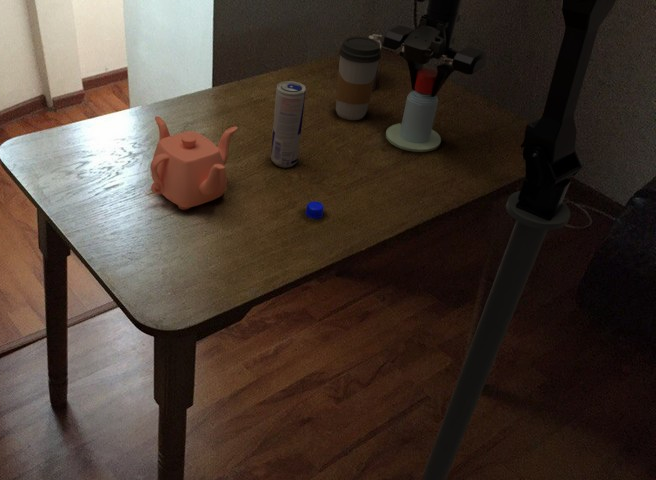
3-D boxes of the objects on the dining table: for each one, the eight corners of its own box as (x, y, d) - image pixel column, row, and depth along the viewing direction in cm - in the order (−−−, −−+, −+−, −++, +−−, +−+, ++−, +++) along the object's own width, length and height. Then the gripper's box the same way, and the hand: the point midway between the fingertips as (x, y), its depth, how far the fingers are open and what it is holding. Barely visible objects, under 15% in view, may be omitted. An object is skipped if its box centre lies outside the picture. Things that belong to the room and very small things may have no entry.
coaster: (449, 138, 143) (450, 135, 142) (423, 158, 136) (424, 155, 136) (402, 120, 148) (403, 117, 147) (375, 138, 141) (375, 135, 140)
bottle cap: (313, 220, 118) (314, 212, 117) (301, 212, 120) (303, 203, 118) (326, 215, 119) (328, 207, 118) (315, 207, 121) (316, 198, 120)
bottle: (433, 142, 140) (448, 82, 131) (405, 143, 139) (418, 83, 130) (423, 128, 144) (437, 69, 136) (395, 129, 143) (407, 69, 135)
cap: (431, 84, 137) (434, 68, 135) (438, 94, 134) (442, 77, 132) (411, 85, 136) (414, 68, 134) (418, 94, 133) (422, 77, 131)
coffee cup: (372, 124, 145) (385, 52, 136) (332, 121, 145) (342, 50, 135) (368, 106, 152) (380, 36, 142) (329, 103, 151) (339, 34, 142)
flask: (361, 72, 165) (369, 26, 158) (373, 73, 165) (382, 27, 158) (364, 89, 158) (372, 42, 151) (377, 90, 158) (385, 43, 151)
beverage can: (300, 158, 133) (309, 83, 123) (293, 171, 129) (301, 94, 119) (275, 153, 134) (281, 77, 124) (266, 165, 130) (272, 89, 120)
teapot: (157, 168, 127) (155, 112, 120) (235, 177, 127) (238, 121, 119) (137, 212, 116) (133, 153, 109) (222, 223, 116) (224, 164, 108)
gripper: (373, 6, 124) (360, 90, 135) (470, 35, 116) (447, 122, 126) (405, -7, 131) (390, 73, 141) (498, 19, 123) (475, 103, 133)
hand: (423, 92), depth 135 cm, fingers closed on cap, 4 cm apart
